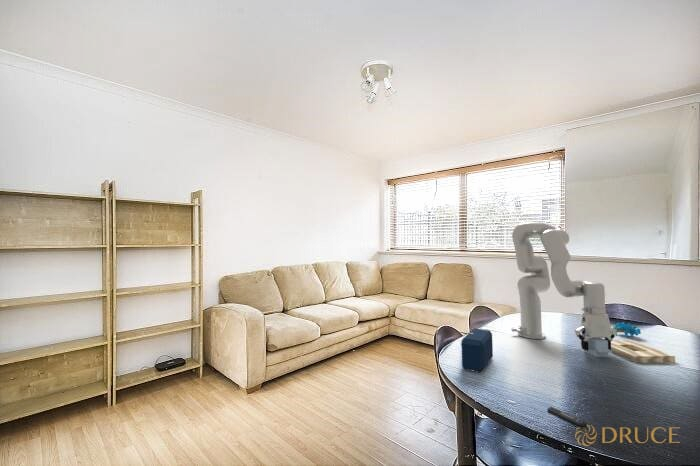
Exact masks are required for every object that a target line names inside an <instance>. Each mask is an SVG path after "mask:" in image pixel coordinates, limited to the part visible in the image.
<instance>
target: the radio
mask: <svg viewBox="0 0 700 466" xmlns="http://www.w3.org/2000/svg"><path fill="white" fill-rule="evenodd" d="M493 349H494V348H493V333H492V332H491V330H488V329H481V328H476V327H474V328H472V329H471V330H470V332H469V333H467V335H465V336H464V337H463V338H462V340H461V364H462V368H463V369H464V368H465V369H464V370H467V369H469V370H468V371H471V370H474V371H473V372H476V371H478V372H477V373H480V372H482V373H483V372H484V371H485V370H486V368H487V367H488V365H489V364H490V362H491V360H492V358H493V357H494V355H493V354H494V352H493Z"/></svg>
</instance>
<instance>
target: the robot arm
mask: <svg viewBox="0 0 700 466" xmlns="http://www.w3.org/2000/svg"><path fill="white" fill-rule="evenodd" d="M511 234H512V242H513V246H514V251H515V258H516V264H517V268H518V270H519V271H520V272H521V273H523V274H530V275H525V276H522V277H520V278H519V279H518V281H517V290H518V293H519V294H518V295H519V304H520V306H519V309H520V312H519V313H520V325H518V327H512V328H511V331H512V332H514V333H515V332H516V333H517V335H519V336H520V337H522V338H526V339H533V340H542V339H545V338H546V334H545V333H544V332H543V327H542V304H541V303H542V301H541V299H540V295H539V294H540V293H546V292H547V291H549V289H550V288H551V281H552V283H553V284H554V287H555V288H556V291H558V294H560V295H561V296H562V297H565V298H569V299H570V298H575V297H577V298H578V297H582V298H583V300H582V301H583V307H582V308H581V311H582V316H581V321H580V323H581V324H580V327H578V328H577V329H575V330H574V333H575V334H576V336H577V338H579V340H580V345H581V346H580V347H581V349H582V350H583V351H585V350H586V351H588V350H589V349H588V342H587V340H588V339H589V337H591V338H602V339H605V340H607V341H608V349H609V350H611V341H612V340H614V338H615V336H616V335H615V334H616V332H617V331H616V330H615V329H613V327H612V326H611V321H610V318H609V314H607V313H606V312H607V311H606V294H605V293H606V292H605V290H606V289H605V284H603V283H601V282H596V281H586V280H581V279H572V280H571V278H570V277H569V275H568V271H567V266H568V263H569V262H570V260H571V259H572V256H571V254H570V252H569V250H568V249H567V246H566V245H568V243H569V242H570V236H569V233H568V232H567V231H565V230H564V229H561V228H558V227H556V226H552V225H549V224H548V223H544V222H540V221H539V222H536V221H535V222H532V221H531V222H528V221H526V222H525V221H524V222H521V223H519V224H517V225H516V226H515V227H514V229H513V230H512V233H511ZM530 239H540V242H541V244H542V246H543V248H544V250H545V252H546V255H547V256H548V259H549V260H550V264H551V265H550V273H549V266H548V263H547V261H546V259H545V257H543V256H542V255H540V254H535V252H534V247H533V244H532V242H531V241H530ZM550 277H551V278H550ZM617 333H618V332H617ZM584 337H585V338H584Z"/></svg>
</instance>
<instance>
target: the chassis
mask: <svg viewBox="0 0 700 466" xmlns="http://www.w3.org/2000/svg"><path fill="white" fill-rule="evenodd" d="M611 351H612V353H611V354H614V355H616V356H618V357H621V358H623V359H625V360H628V361H630V362H632V363H635V364H636V363H637V364H641V363H642V364H643V363H644V364H645V363H647V364H648V363H650V364H651V363H653V364H654V363H658V364H659V363H661V364H662V363H664V364H665V363H676V356H675V355H673V354H670V353H667V352H665V351H663V350H659V349H657V348H654V347H651V346H648V345H645V344H643V343H640V342H638V341H634V340H631V339H627V340H626V339H625V340H621V339H620V340H614V339H612V341H611Z"/></svg>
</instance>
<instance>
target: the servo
mask: <svg viewBox="0 0 700 466" xmlns="http://www.w3.org/2000/svg"><path fill="white" fill-rule="evenodd" d="M584 338H585V337H584ZM587 342H588V349H589V350H588V351H586V350H584V352H586V353H587V354H589V355H592V356H593V357H595V358H609V353H610V354H613V353H612V351H611V350H609V349H608V341H607V340H605V338H591V337H589V339H588V340H587Z"/></svg>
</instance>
